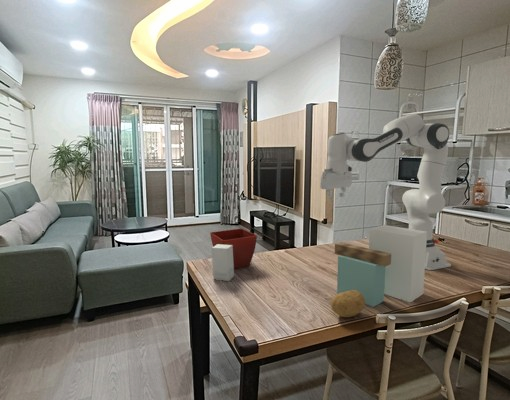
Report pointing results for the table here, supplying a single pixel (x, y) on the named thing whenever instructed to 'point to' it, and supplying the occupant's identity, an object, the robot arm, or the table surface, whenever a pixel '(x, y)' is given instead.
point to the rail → (363, 254)
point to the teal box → (361, 279)
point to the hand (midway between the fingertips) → (336, 197)
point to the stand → (401, 259)
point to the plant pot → (237, 244)
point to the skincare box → (223, 262)
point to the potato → (348, 303)
